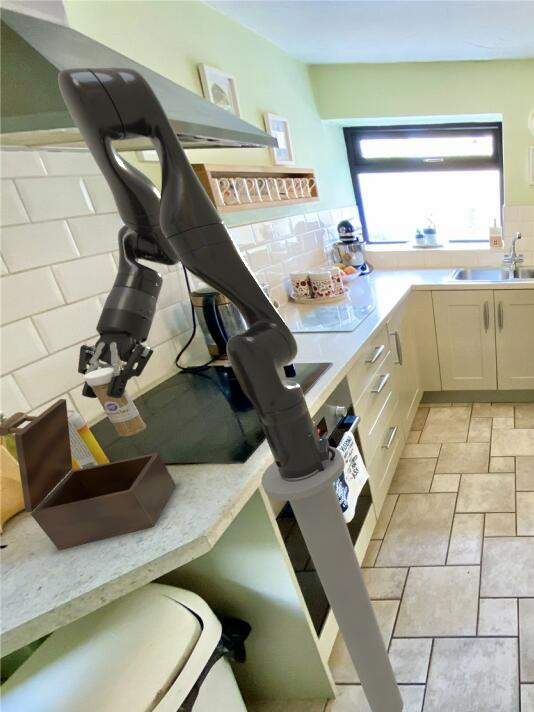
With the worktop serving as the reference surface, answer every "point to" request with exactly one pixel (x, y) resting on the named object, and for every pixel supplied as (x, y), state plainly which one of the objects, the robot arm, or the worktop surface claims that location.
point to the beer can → (83, 444)
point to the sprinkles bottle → (115, 403)
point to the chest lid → (41, 451)
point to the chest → (105, 501)
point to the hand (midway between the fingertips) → (101, 396)
